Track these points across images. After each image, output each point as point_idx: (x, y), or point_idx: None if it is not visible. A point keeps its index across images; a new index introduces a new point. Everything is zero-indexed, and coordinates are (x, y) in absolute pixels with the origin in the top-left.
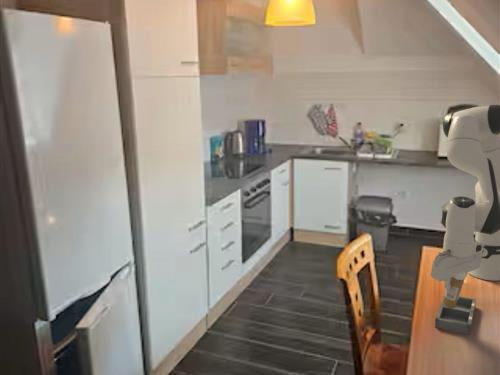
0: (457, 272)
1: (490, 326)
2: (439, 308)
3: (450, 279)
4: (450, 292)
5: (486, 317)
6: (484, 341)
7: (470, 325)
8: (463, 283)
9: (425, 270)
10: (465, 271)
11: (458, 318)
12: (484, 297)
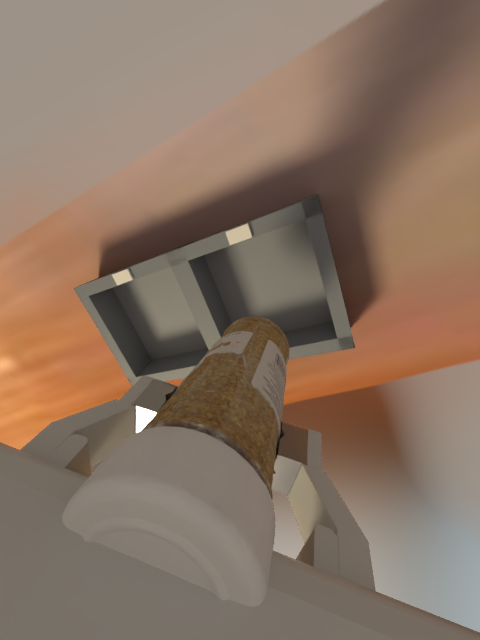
0: (221, 616)
1: (178, 160)
2: None
3: (325, 539)
4: (283, 397)
5: (128, 210)
6: (330, 105)
7: (307, 200)
8: (139, 379)
9: None
10: (52, 500)
11: (221, 287)
12: (22, 281)
